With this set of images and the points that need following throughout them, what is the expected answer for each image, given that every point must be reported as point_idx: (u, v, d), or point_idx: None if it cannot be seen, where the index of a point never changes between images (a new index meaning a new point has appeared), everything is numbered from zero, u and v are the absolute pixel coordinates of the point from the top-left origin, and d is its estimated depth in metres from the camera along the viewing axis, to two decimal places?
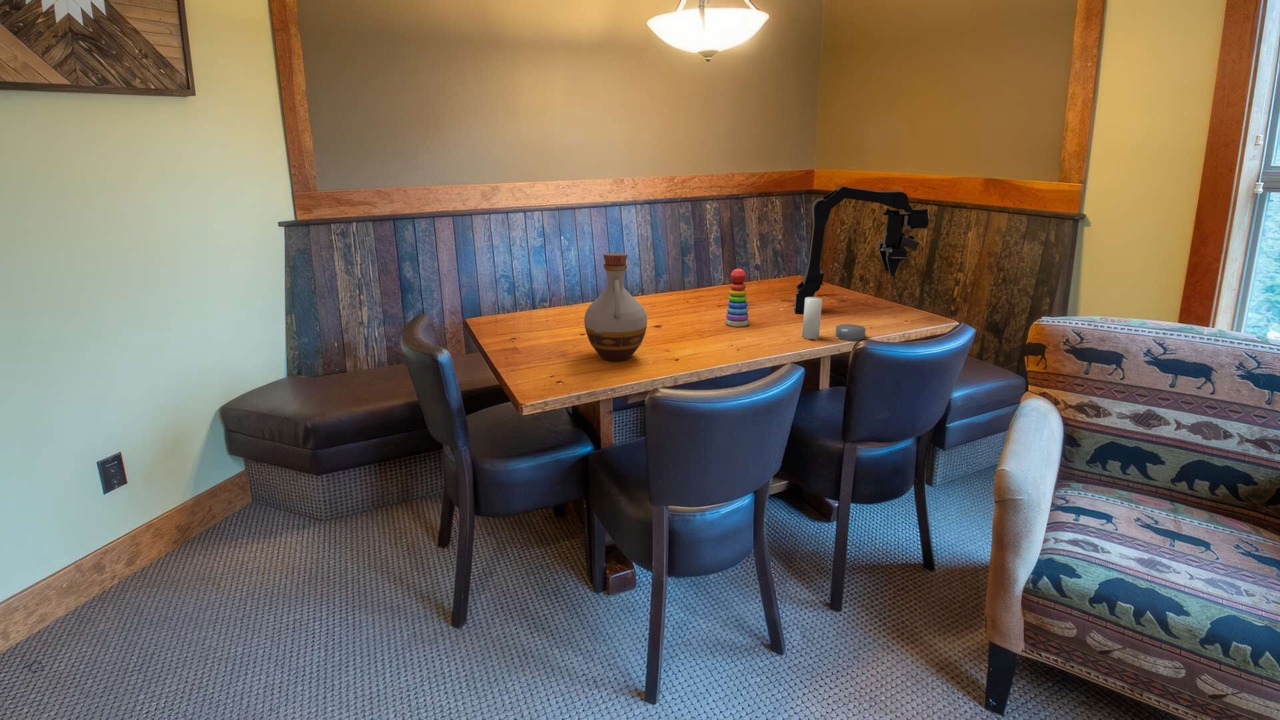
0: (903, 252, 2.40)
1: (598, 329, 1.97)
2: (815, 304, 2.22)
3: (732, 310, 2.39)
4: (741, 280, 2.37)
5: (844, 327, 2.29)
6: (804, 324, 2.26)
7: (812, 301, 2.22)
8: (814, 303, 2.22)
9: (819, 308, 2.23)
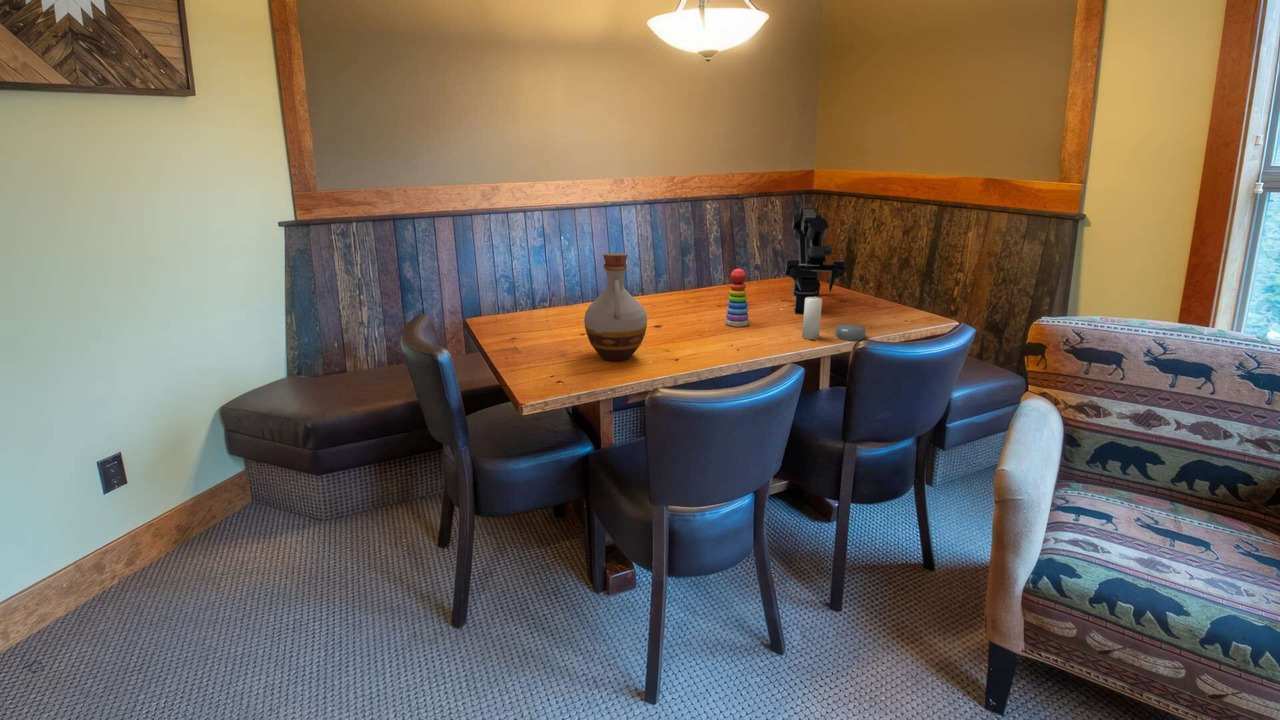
0: (786, 263, 2.35)
1: (598, 329, 1.97)
2: (815, 304, 2.22)
3: (732, 310, 2.39)
4: (741, 280, 2.37)
5: (844, 327, 2.29)
6: (804, 324, 2.26)
7: (812, 301, 2.22)
8: (814, 303, 2.22)
9: (819, 308, 2.23)
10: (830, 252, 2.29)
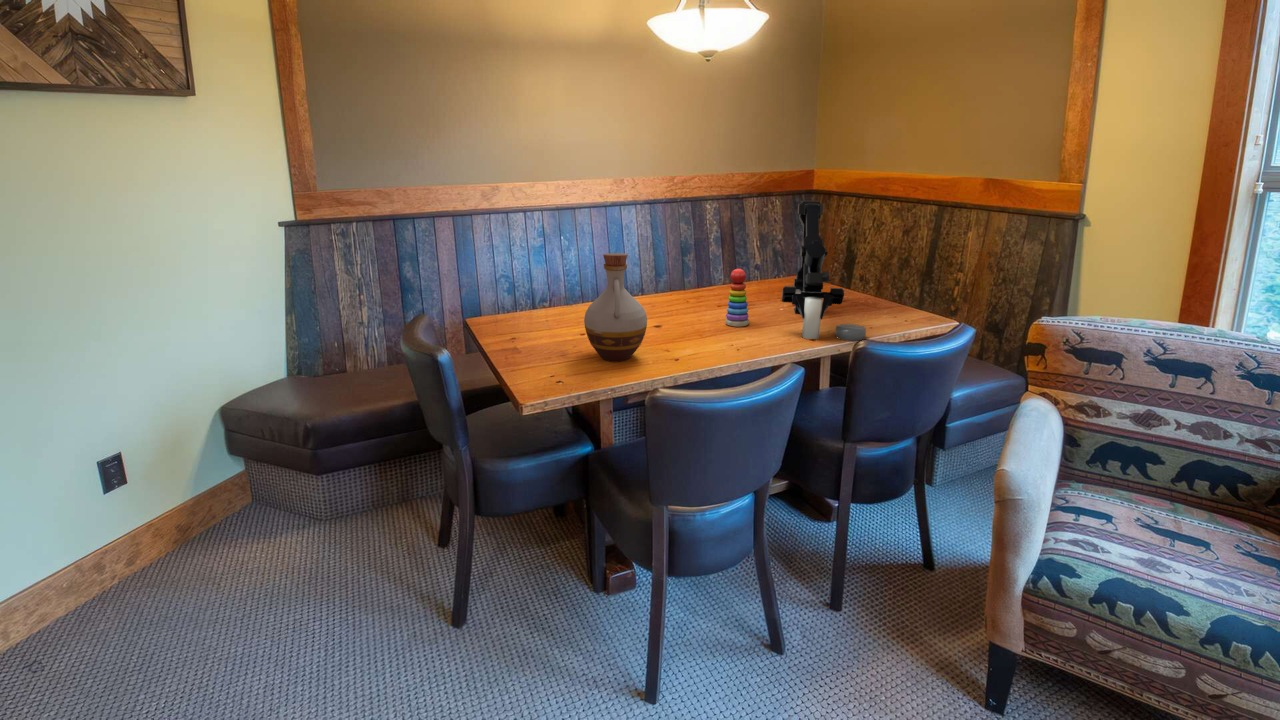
0: None
1: (598, 329, 1.97)
2: (815, 304, 2.22)
3: (732, 310, 2.39)
4: (741, 280, 2.37)
5: (844, 327, 2.29)
6: (804, 324, 2.26)
7: (812, 301, 2.22)
8: (814, 303, 2.22)
9: (819, 308, 2.23)
10: (827, 279, 2.23)
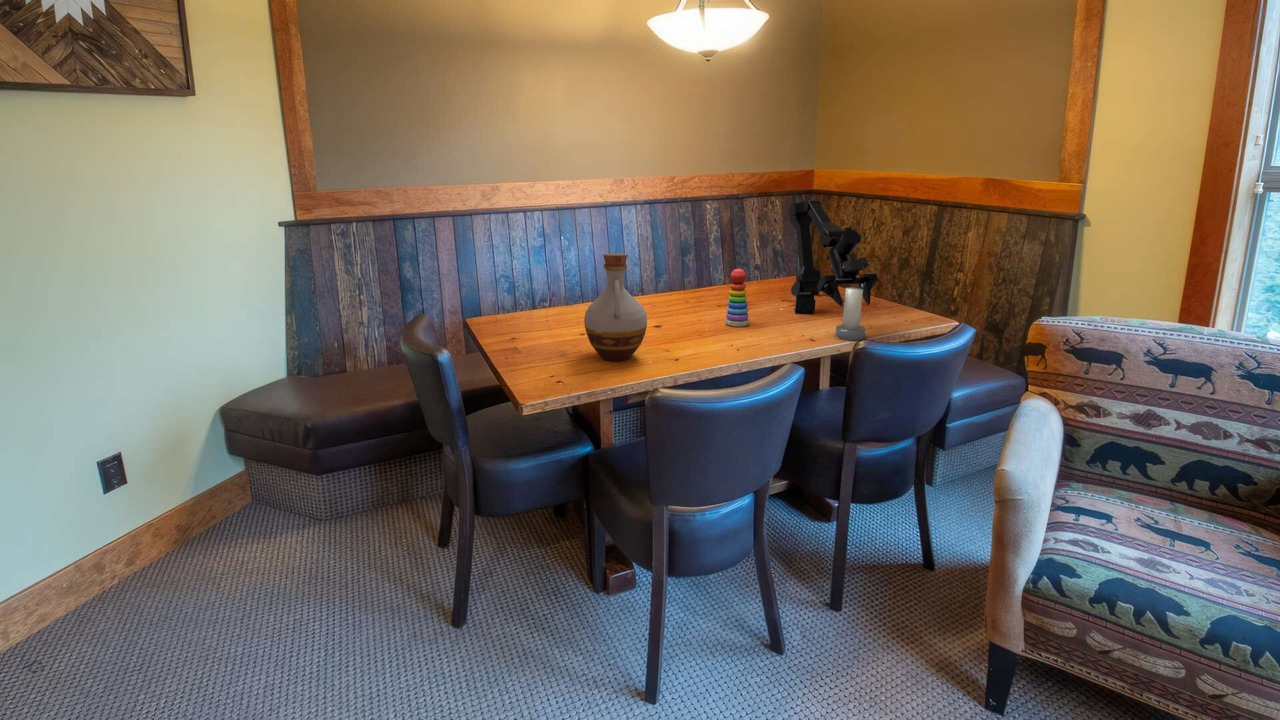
0: (822, 278, 2.25)
1: (598, 329, 1.97)
2: (859, 294, 2.22)
3: (732, 310, 2.39)
4: (741, 280, 2.37)
5: None
6: (847, 315, 2.25)
7: (857, 291, 2.22)
8: (858, 293, 2.22)
9: None
10: (867, 265, 2.23)
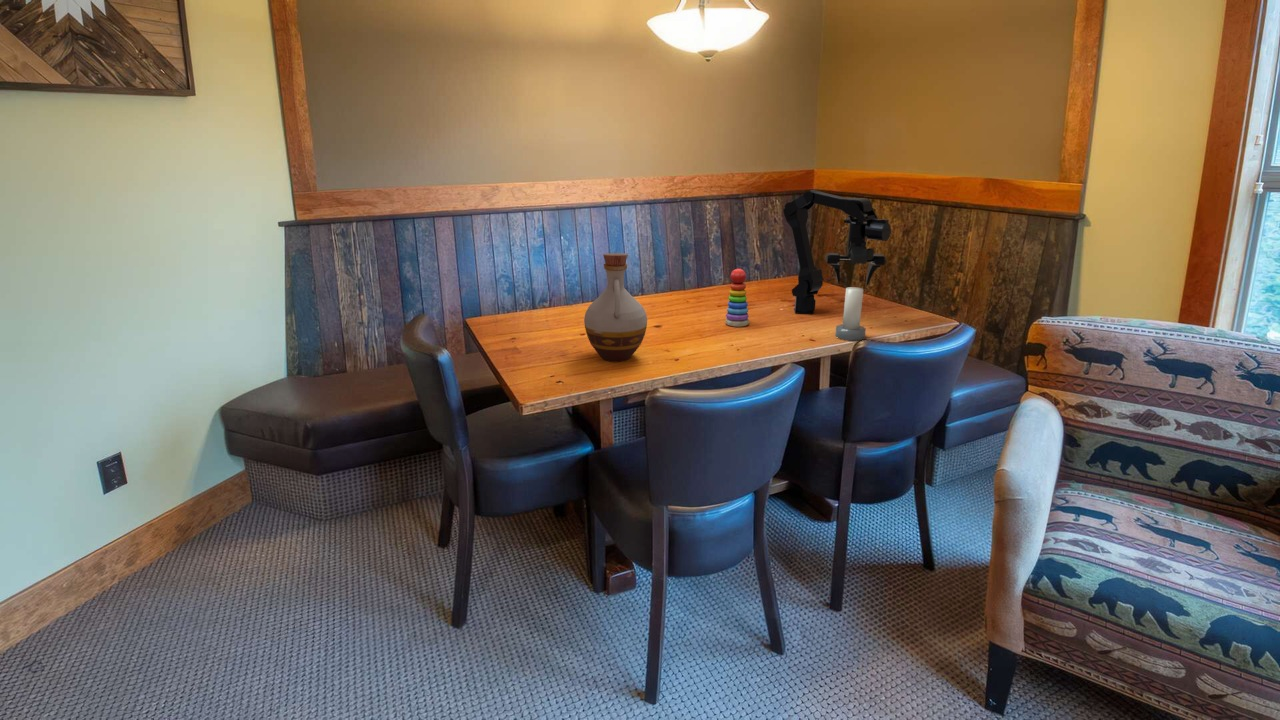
0: (827, 257, 2.39)
1: (598, 329, 1.97)
2: (859, 294, 2.22)
3: (732, 310, 2.39)
4: (741, 280, 2.37)
5: None
6: (847, 315, 2.25)
7: (857, 291, 2.22)
8: (858, 294, 2.22)
9: None
10: (871, 258, 2.33)
